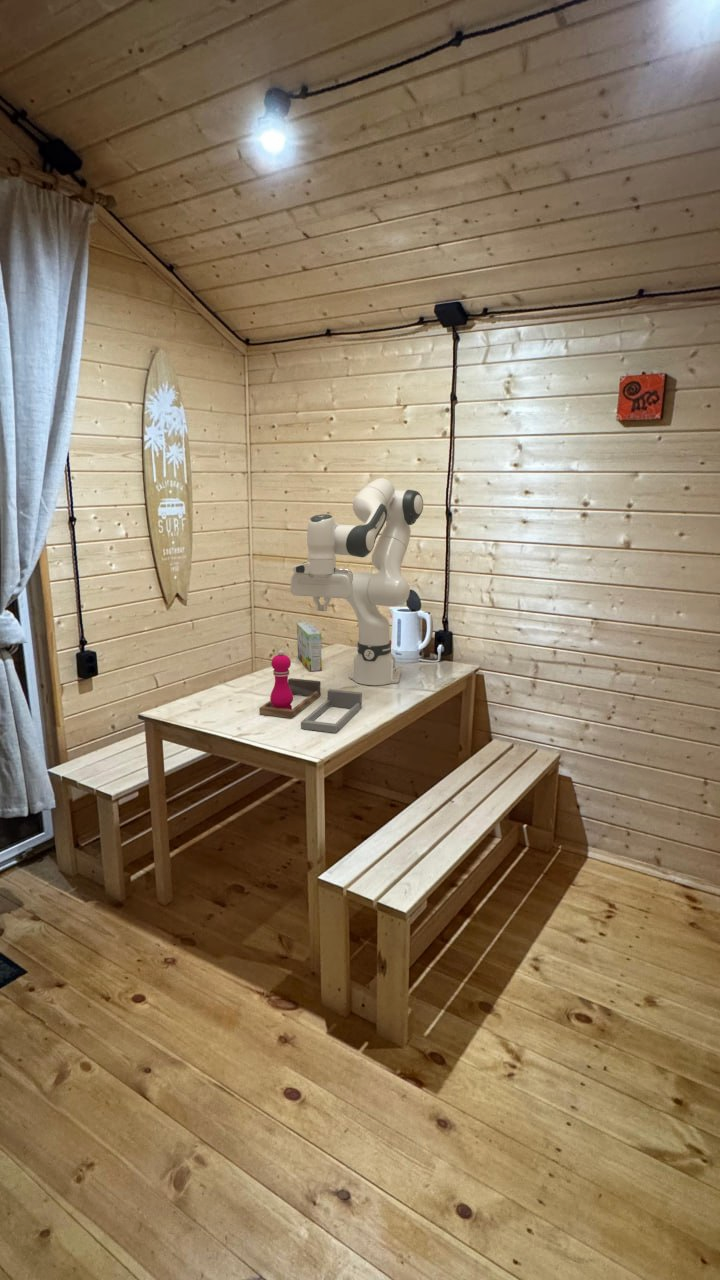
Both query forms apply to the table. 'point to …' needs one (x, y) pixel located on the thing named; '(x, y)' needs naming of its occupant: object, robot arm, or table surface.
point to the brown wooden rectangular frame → (297, 688)
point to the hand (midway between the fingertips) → (321, 610)
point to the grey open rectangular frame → (338, 700)
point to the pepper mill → (281, 682)
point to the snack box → (309, 646)
